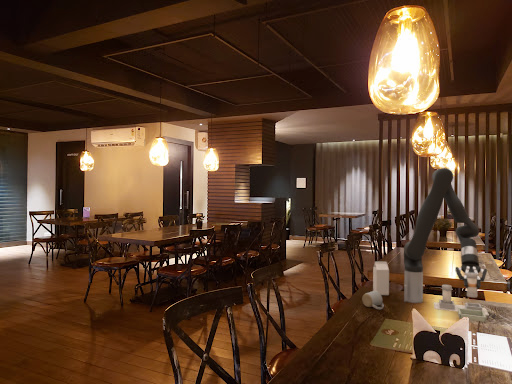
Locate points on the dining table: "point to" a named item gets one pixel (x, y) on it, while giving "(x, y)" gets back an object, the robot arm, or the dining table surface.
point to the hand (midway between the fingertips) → (472, 287)
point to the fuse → (447, 293)
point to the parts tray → (473, 312)
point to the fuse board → (458, 306)
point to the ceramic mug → (373, 299)
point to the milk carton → (381, 278)
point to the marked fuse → (472, 284)
